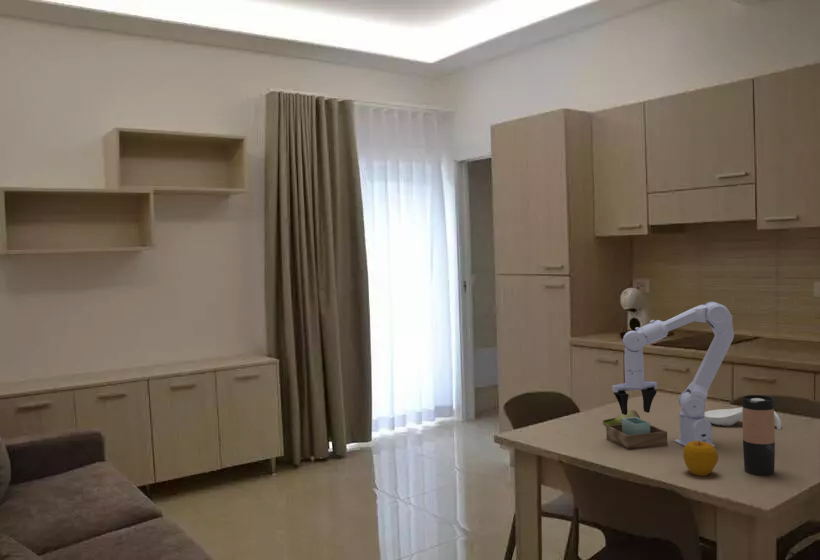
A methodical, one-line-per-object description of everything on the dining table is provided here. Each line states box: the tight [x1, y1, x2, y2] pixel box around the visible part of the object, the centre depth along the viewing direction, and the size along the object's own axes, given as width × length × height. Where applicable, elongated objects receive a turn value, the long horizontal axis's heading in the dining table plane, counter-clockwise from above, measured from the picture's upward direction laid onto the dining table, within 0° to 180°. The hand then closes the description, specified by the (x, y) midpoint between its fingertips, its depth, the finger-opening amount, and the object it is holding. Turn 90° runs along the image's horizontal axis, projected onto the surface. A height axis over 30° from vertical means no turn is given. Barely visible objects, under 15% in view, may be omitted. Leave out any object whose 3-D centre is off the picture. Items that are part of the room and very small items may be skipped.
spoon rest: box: [704, 407, 782, 430], centre depth 234 cm, size 24×12×7 cm, turn 61°
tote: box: [622, 417, 651, 435], centre depth 219 cm, size 5×8×6 cm, turn 12°
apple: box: [682, 441, 719, 477], centre depth 187 cm, size 9×8×9 cm
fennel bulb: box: [602, 409, 641, 426], centre depth 240 cm, size 6×5×12 cm
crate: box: [605, 424, 668, 451], centre depth 219 cm, size 13×13×4 cm
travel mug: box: [741, 394, 776, 477], centre depth 186 cm, size 8×8×20 cm
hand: (635, 413), depth 218 cm, fingers open, 7 cm apart
